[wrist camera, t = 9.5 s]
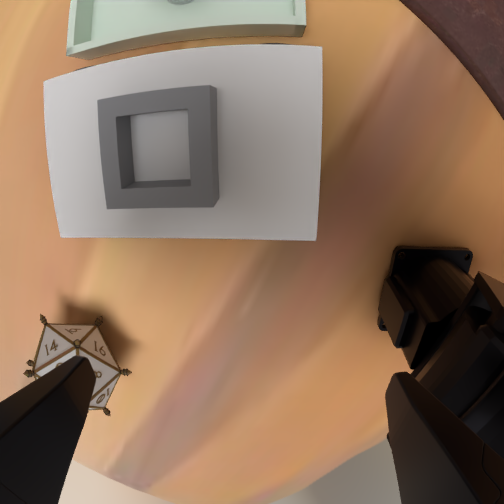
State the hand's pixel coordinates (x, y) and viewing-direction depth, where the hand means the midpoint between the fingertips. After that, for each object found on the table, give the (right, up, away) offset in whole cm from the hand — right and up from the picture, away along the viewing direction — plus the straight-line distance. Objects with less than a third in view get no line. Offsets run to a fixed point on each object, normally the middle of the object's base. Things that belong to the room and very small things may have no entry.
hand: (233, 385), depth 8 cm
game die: (-13, -4, +16) cm, 21 cm away
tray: (-3, +19, +5) cm, 20 cm away
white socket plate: (-3, +10, +9) cm, 14 cm away
